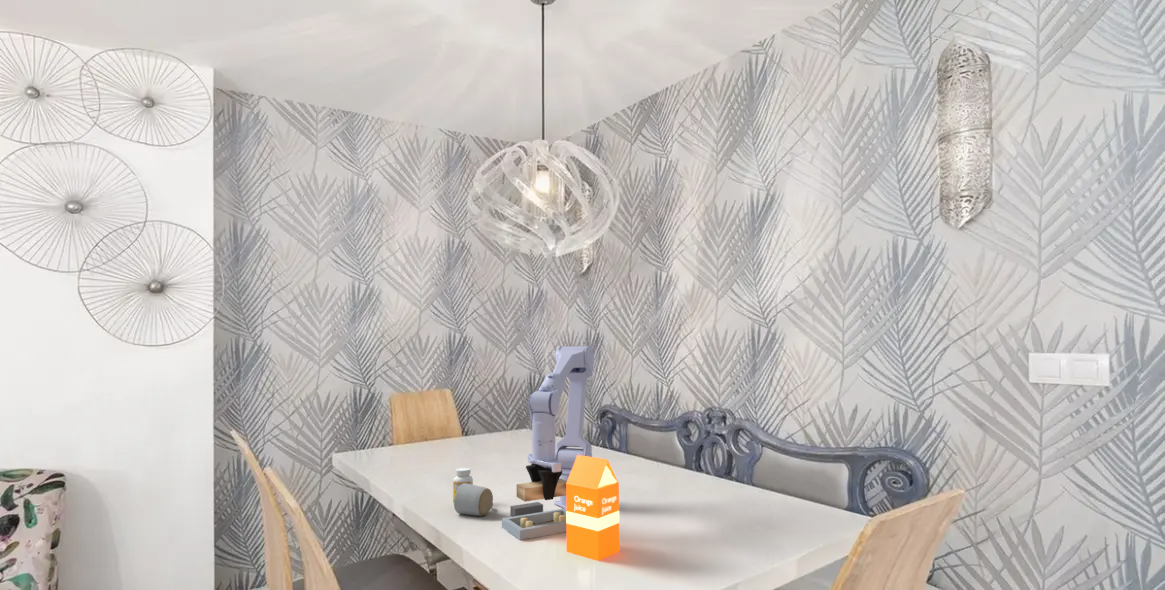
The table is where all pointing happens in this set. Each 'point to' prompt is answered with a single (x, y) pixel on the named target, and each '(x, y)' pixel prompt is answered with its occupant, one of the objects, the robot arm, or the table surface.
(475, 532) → the table surface
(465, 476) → the supplement bottle
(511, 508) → the gray rectangular block
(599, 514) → the orange juice
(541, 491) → the tan rectangular block
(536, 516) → the peg frame
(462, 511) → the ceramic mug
